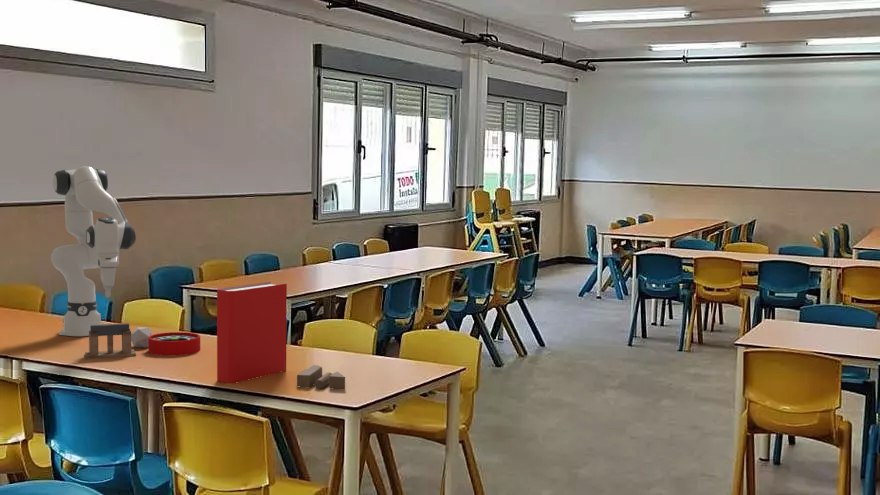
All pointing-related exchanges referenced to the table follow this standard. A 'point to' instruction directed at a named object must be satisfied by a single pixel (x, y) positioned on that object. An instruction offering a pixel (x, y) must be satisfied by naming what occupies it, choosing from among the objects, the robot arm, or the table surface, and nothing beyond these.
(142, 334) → the die
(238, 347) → the book
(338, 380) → the wooden block set
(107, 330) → the frame bar
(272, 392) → the table surface
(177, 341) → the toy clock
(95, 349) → the stand
